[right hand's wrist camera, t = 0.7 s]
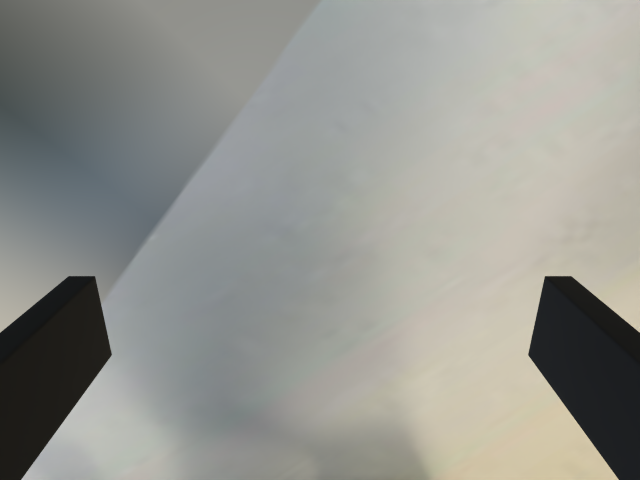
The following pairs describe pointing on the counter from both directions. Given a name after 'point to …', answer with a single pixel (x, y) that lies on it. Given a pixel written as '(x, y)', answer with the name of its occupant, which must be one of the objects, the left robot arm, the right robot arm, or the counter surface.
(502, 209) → the counter surface
